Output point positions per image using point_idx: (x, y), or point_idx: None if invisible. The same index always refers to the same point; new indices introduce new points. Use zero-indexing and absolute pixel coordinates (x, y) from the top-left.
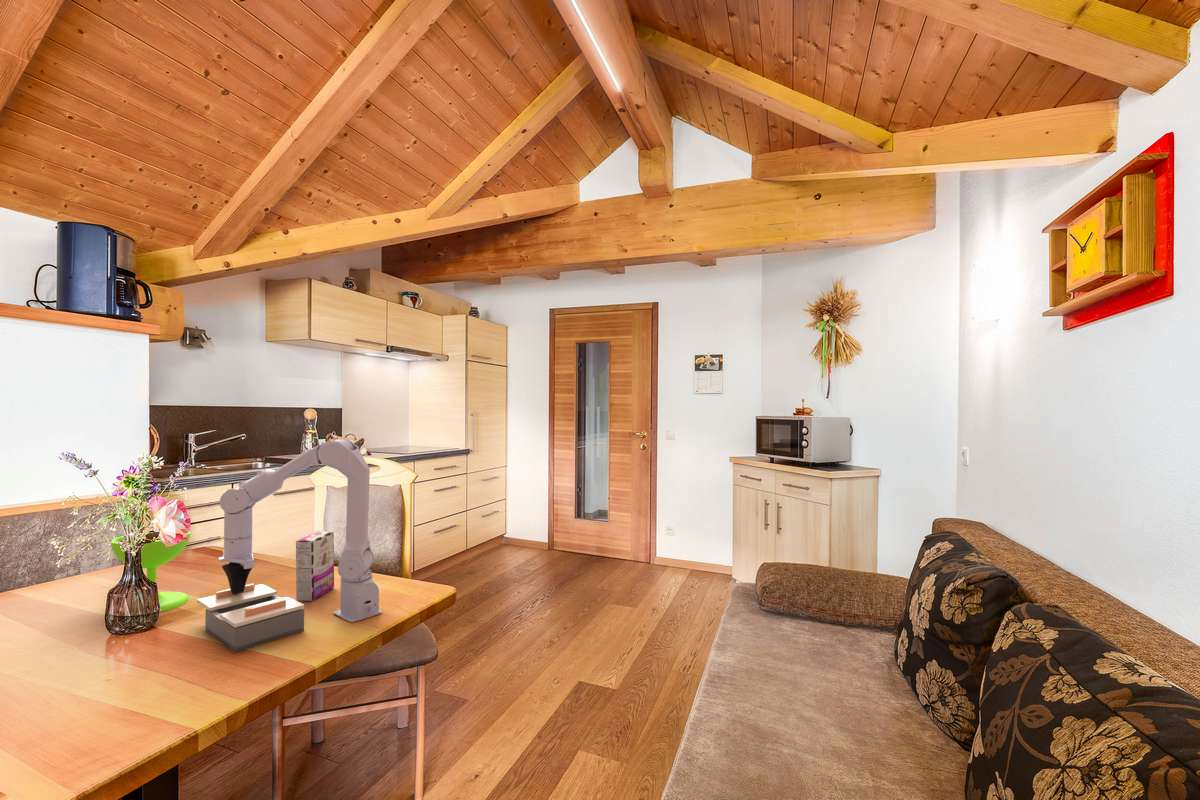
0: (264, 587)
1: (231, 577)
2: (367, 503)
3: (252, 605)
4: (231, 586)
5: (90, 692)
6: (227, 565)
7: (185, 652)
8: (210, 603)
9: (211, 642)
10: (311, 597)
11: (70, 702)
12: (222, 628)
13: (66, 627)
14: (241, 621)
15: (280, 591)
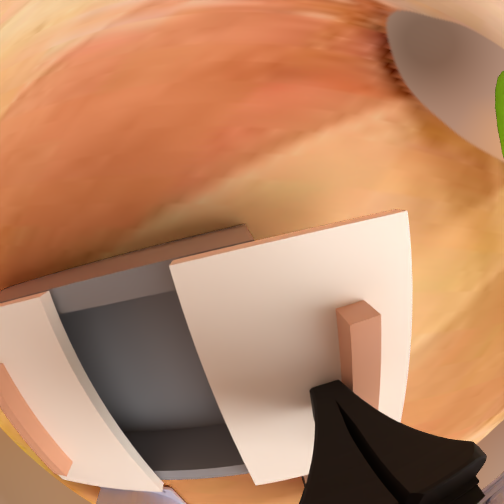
0: None
1: (310, 472)
2: None
3: (101, 417)
4: (331, 411)
5: (13, 24)
6: (443, 492)
7: (69, 162)
8: (264, 272)
9: (105, 237)
10: (305, 480)
11: (4, 14)
12: (44, 284)
13: (473, 2)
14: None
15: (440, 407)
